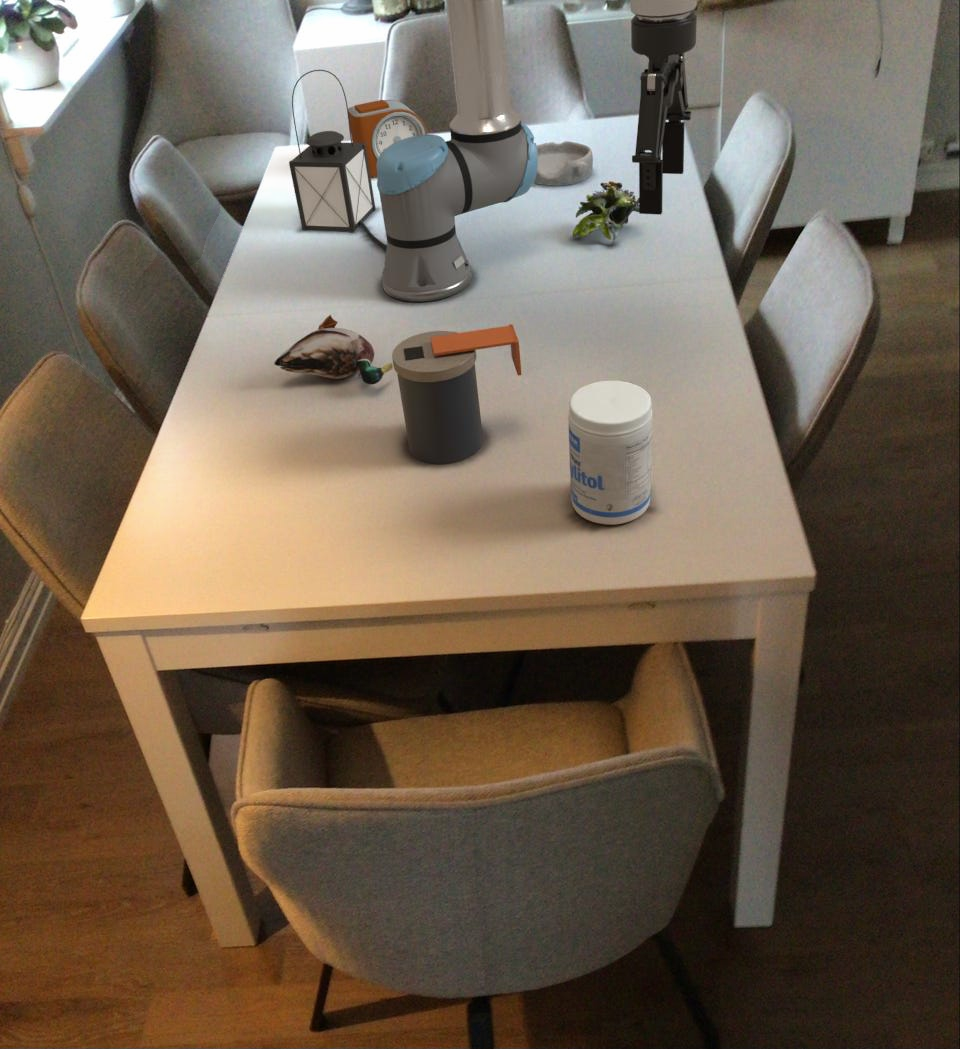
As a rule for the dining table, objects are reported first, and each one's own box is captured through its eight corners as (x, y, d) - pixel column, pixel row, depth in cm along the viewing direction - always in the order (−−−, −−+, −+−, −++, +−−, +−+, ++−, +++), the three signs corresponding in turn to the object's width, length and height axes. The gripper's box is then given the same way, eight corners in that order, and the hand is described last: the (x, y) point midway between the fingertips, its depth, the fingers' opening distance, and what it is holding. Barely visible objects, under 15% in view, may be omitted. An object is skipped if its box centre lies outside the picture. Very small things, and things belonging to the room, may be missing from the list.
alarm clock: (365, 180, 227) (355, 114, 219) (354, 168, 234) (344, 104, 226) (431, 165, 231) (423, 100, 223) (419, 153, 237) (411, 90, 229)
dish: (595, 185, 213) (594, 160, 210) (525, 191, 214) (523, 166, 211) (590, 159, 224) (589, 135, 221) (524, 165, 225) (522, 141, 222)
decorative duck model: (397, 351, 153) (297, 380, 148) (400, 395, 158) (304, 424, 153) (356, 304, 163) (261, 329, 158) (361, 346, 168) (269, 372, 163)
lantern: (376, 209, 214) (353, 61, 197) (354, 232, 206) (328, 79, 189) (325, 208, 217) (298, 61, 200) (301, 230, 209) (271, 79, 192)
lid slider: (515, 356, 141) (512, 323, 138) (521, 375, 137) (519, 341, 135) (434, 368, 141) (430, 336, 138) (438, 387, 137) (434, 354, 134)
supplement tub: (556, 510, 131) (549, 407, 122) (601, 472, 136) (598, 370, 127) (622, 538, 125) (620, 432, 117) (667, 497, 131) (668, 393, 122)
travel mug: (479, 416, 149) (469, 324, 141) (490, 458, 141) (480, 363, 132) (403, 428, 149) (389, 336, 140) (410, 470, 140) (395, 376, 132)
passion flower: (612, 256, 199) (648, 197, 195) (621, 270, 189) (659, 208, 185) (560, 226, 196) (595, 165, 192) (566, 238, 187) (603, 175, 182)
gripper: (674, 42, 115) (671, 233, 128) (714, -14, 133) (708, 158, 146) (605, 43, 117) (609, 230, 130) (654, -12, 135) (653, 156, 148)
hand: (662, 192), depth 138 cm, fingers open, 13 cm apart
